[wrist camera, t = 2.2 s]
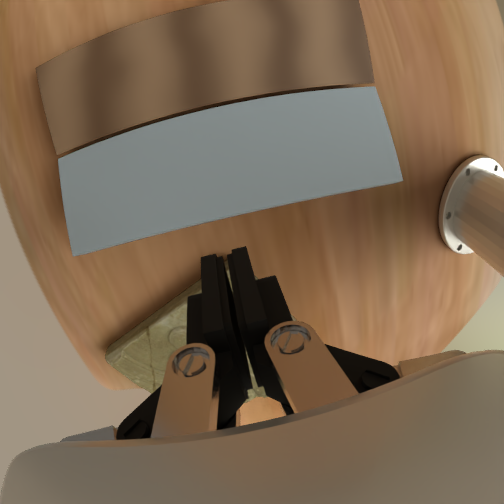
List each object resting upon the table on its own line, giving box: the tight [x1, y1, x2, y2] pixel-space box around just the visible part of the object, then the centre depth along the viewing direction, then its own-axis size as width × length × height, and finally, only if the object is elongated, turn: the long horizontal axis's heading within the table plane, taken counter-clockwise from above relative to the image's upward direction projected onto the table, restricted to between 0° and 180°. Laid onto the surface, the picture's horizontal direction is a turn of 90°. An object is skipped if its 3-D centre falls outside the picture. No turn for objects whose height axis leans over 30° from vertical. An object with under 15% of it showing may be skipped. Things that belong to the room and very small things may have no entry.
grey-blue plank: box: [58, 87, 403, 256], centre depth 22 cm, size 26×8×2 cm, turn 101°
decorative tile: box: [105, 260, 297, 403], centre depth 34 cm, size 19×20×4 cm
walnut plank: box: [36, 0, 375, 155], centre depth 19 cm, size 26×8×2 cm, turn 101°
